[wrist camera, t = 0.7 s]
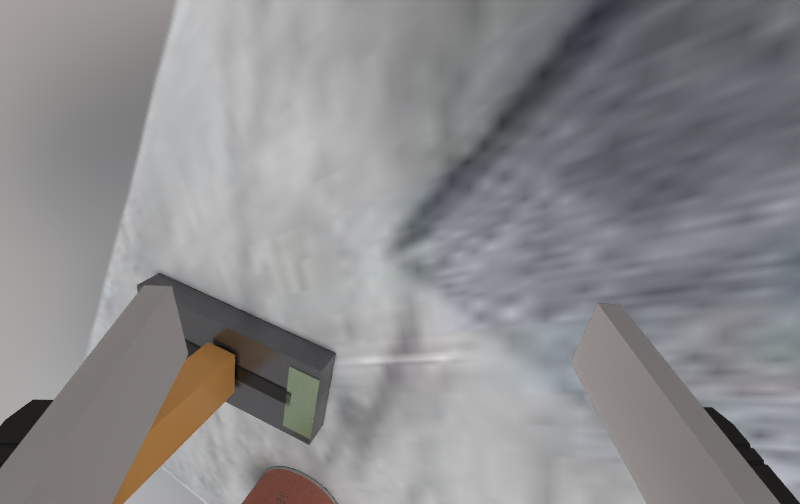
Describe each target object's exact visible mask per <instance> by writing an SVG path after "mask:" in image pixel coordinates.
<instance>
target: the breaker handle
mask: <svg viewBox="0 0 800 504" xmlns="http://www.w3.org/2000/svg"><path fill="white" fill-rule="evenodd" d="M234 389H235V355H234V354H232V353H230V352H228V351H226V350H224V349H222V348H220V347H218V346H216V345H213V344H211V343H209V342H208V343H206V344H205V345H204V346H202V347H201V348H200V349H199V350H197V351H196V352H195V353H194V354H192V355H191V356H190V357H188V358H187V359H186V360H185V362H184V363H183V365H182V367H181V369H180V371H179V373H178V375H177V377H176V379H175V381H174V383H173V385H172V387H171V389H170V391H169V393H168V395H167V397H166V399H165V401H164V403H163V405H162V407H161V409H160V411H159V413H158V414H157V416H156V418H155V420H154V422H153V424H152V426H151V428H150V430H149V432H148V434H147V436H146V438H145V440H144V442H143V444H142V446H141V448H140V450H139V452H138V454H137V456H136V458H135V460H134V462H133V463H132V465H131V467H130V469H129V471H128V473H127V475H126V477H125V479H124V481H123V483H122V485H121V487H120V489H119V491H118V493H117V495H116V497H115V499H114V501H113V503H112V504H123V503H124V502H125V501H126V500H127V499H128V498H129V497H130V496H131V495H132V494H133V493H134V492H135V491H136V490H137V489H138V488H139V487H140V486H141V485H142V484H143V483H144V482H145V481H146V480H147V479H148V478H149V477H150V476H151V475H152V474H153V473H154V472H155V471H156V470H157V469H158V468H159V467H160V466H161V465H162V464H163V463H164V462H165V461H166V460H167V459H168V458H169V457H170V456H171V455H172V454H173V453H174V452H175V451H176V450H177V449H178V448H179V447H180V446H181V445H182V444H183V443H184V442H185V441H186V440H187V439H188V438H189V437H190V436H191V435H192V434H193V433H194V432H195V431H196V430H197V429H198V428H199V427H200V426H201V425H202V424H203V423H204V422H205V421H206V420H207V419H208V418H209V417H210V416H211V415H212V414H213V413H214V412H215V411H216V410H217V409H218V408H219V407H220V406H221V405H222V404H223V403H224V402H225V401H226V400H227V399H228V398H229V397H230V396H231V395H232V394H233V393H234Z"/></svg>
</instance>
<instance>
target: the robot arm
mask: <svg viewBox="0 0 800 504" xmlns="http://www.w3.org/2000/svg"><path fill="white" fill-rule="evenodd" d="M187 356H188V350H187V346H186V342H185V338H184V334H183V330H182V326H181V322H180V318H179V314H178V310H177V305H176V301H175V297H174V293H173V289H172V286H154V285H144V286H143V287H142V288H141V290H140V291H139V292H138V293H137V295H136V296H135V297H134V299H133V300H132V301H131V302H130V304H129V305H128V306H127V307H126V309H125V310H124V311H123V313H122V314H121V315H120V316H119V318H118V319H117V320H116V321H115V323H114V324H113V325H112V327H111V328H110V329H109V330H108V332H107V333H106V334H105V335H104V337H103V338H102V339H101V341H100V342H99V343H98V344H97V346H96V347H95V348H94V350H93V351H92V352H91V353H90V355H89V356H88V357H87V358H86V360H85V361H84V362H83V364H82V365H81V366H80V368H79V369H78V370H77V371H76V372H75V374H74V375H73V376H72V378H71V379H70V380H69V381H68V383H67V384H66V385H65V386H64V388H63V389H62V390H61V392H60V393H59V394H58V396H57V397H56V398H55V399H54V400H32V401H31V402H29V403H28V404H26V405H25V406H24V407H22V408H21V409H20V410H18V411H17V412H16V413H14V414H13V415H12V416H10V417H9V418H7V419H6V420H5V421H4V422H3V423H2V425H1V426H0V504H112V503H113V501H114V499H115V497H116V495H117V493H118V491H119V489H120V487H121V485H122V483H123V481H124V479H125V477H126V475H127V473H128V471H129V469H130V467H131V465H132V463H133V462H134V460H135V458H136V456H137V454H138V452H139V450H140V448H141V446H142V444H143V442H144V440H145V438H146V436H147V434H148V432H149V430H150V428H151V426H152V424H153V422H154V420H155V418H156V416H157V414H158V413H159V411H160V409H161V407H162V405H163V403H164V401H165V399H166V397H167V395H168V393H169V391H170V389H171V387H172V385H173V383H174V381H175V379H176V377H177V375H178V373H179V371H180V369H181V367H182V365H183V363H184V362H185V360H186V358H187ZM571 364H572V366H573V368H574V370H575V372H576V374H577V376H578V377H579V379H580V381H581V383H582V385H583V387H584V388H585V390H586V392H587V394H588V396H589V398H590V400H591V401H592V403H593V405H594V407H595V409H596V411H597V412H598V414H599V416H600V418H601V420H602V422H603V424H604V425H605V427H606V429H607V431H608V433H609V435H610V436H611V438H612V440H613V442H614V444H615V446H616V448H617V449H618V451H619V453H620V455H621V457H622V459H623V460H624V462H625V464H626V466H627V468H628V470H629V472H630V473H631V475H632V477H633V479H634V481H635V483H636V484H637V486H638V488H639V490H640V492H641V494H642V495H643V497H644V499H645V501H646V503H647V504H800V503H799V502H798V500H797V499H796V498H795V497H794V496H793V494H792V493H791V492H790V491H789V490H788V489H787V487H786V486H785V485H784V484H783V483H782V481H781V480H780V479H779V478H778V477H777V476H776V474H775V473H774V472H773V471H772V470H771V468H770V467H769V466H768V465H765V464H764V460H763V459H762V458H761V457H760V455H759V454H758V453H757V452H756V451H755V449H754V448H751V447H750V444H749V442H748V441H747V440H746V439H745V438H744V436H743V435H742V434H741V433H740V432H739V430H738V429H737V428H736V427H735V426H734V425H733V424H732V423H731V422H730V421H728V420H727V419H726V418H725V417H723V416H722V415H721V414H720V413H718V412H717V411H716V410H715V409H713V408H712V407H702V406H701V404H700V403H699V402H698V401H697V399H696V398H695V397H694V396H693V394H692V393H691V392H690V391H689V389H688V388H687V387H686V386H685V384H684V383H683V382H682V381H681V379H680V378H679V377H678V376H677V375H676V373H675V372H674V371H673V370H672V368H671V367H670V366H669V365H668V363H667V362H666V361H665V360H664V358H663V357H662V356H661V355H660V353H659V352H658V351H657V350H656V348H655V347H654V346H653V345H652V343H651V342H650V341H649V340H648V338H647V337H646V336H645V335H644V333H643V332H642V331H641V330H640V329H639V327H638V326H637V325H636V324H635V322H634V321H633V320H632V319H631V317H630V316H629V315H628V314H627V312H626V311H625V310H624V309H623V307H622V306H621V305H620V304H604V303H598V304H597V306H596V308H595V310H594V313H593V315H592V317H591V319H590V321H589V324H588V326H587V328H586V330H585V333H584V335H583V337H582V339H581V342H580V344H579V346H578V348H577V351H576V353H575V355H574V357H573V359H572V362H571Z"/></svg>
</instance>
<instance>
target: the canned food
mask: <svg viewBox="0 0 800 504" xmlns="http://www.w3.org/2000/svg"><path fill="white" fill-rule="evenodd" d="M242 504H337V502H336V500H335V499H334V498H333V496H332V495H331V494H330V493H329V492H328V491H327V490H326V489H325V488H324V487H323V486H322V485H321V484H320V483H318V482H317V481H316V480H314V479H313V478H311V477H310V476H308V475H306V474H304V473H302V472H300V471H298V470H295V469H292V468H288V467H282V466H276V467H271V468H268V469H267V470H266V471H265V472H264V473H263V474H262V476H261V478H260V480H259V481H258V482H257V484H256V485H255V486H254V488H253V489H252V491H251V492H250V493H249V495H248V496H247V497H246V499H245V500H244V501H243V503H242Z"/></svg>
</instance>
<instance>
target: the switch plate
mask: <svg viewBox="0 0 800 504" xmlns="http://www.w3.org/2000/svg"><path fill="white" fill-rule="evenodd" d="M144 285H154V286H172V289H173V293H174V297H175V301H176V305H177V310H178V314H179V318H180V322H181V326H182V330H183V334H184V338H185V342H186V346H187V350H188V356H187V358H188V357H190V356H191V355H192V354H194V353H195V352H196V351H197V350H199V349H200V348H201V347H202V346H204V345H205V344H206V343H208V342H209V343H211V344H213V345H216V346H218V347H220V348H222V349H224V350H226V351H228V352H230V353H232V354H234V355H235V389H234V393H233V394H232V395H231V396H230V397H229V398H228V399H227V400H226V401H225V402H227V403H229V404H231V405H233V406H235V407H237V408H239V409H241V410H243V411H245V412H247V413H249V414H251V415H253V416H254V417H256V418H258V419H260V420H262V421H264V422H266V423H268V424H270V425H272V426H274V427H276V428H278V429H280V430H282V431H283V432H285V433H287V434H289V435H291V436H293V437H295V438H297V439H299V440H301V441H303V442H305V443H307V444H309V445H310V443H311V442H312V440H313V439H314V437H315V436H316V434H317V433H318V431H319V430H320V428H321V427H322V425H323V421H324V415H325V410H326V404H327V399H328V393H329V388H330V382H331V377H332V371H333V366H334V360H335V355H336V354H335V353H333V352H331V351H329V350H327V349H324V348H322V347H320V346H318V345H316V344H313V343H311V342H309V341H307V340H305V339H302V338H300V337H298V336H296V335H294V334H292V333H289V332H287V331H285V330H283V329H281V328H278V327H276V326H274V325H272V324H270V323H267V322H265V321H263V320H261V319H259V318H256V317H254V316H252V315H250V314H248V313H245V312H243V311H241V310H239V309H237V308H234V307H232V306H230V305H228V304H226V303H223V302H221V301H219V300H217V299H215V298H212V297H210V296H208V295H206V294H204V293H202V292H199V291H197V290H195V289H193V288H191V287H188V286H186V285H184V284H182V283H180V282H177V281H175V280H173V279H171V278H169V277H166V276H164V275H162V274H160V273H159V274H157V275H155V276H153V277H151V278H149V279H148V280H146V281H144V282H142V283H140V284H138V285H137V289H138V292H139V291H140V290H141V288H142V287H143V286H144ZM187 358H186V359H187Z"/></svg>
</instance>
